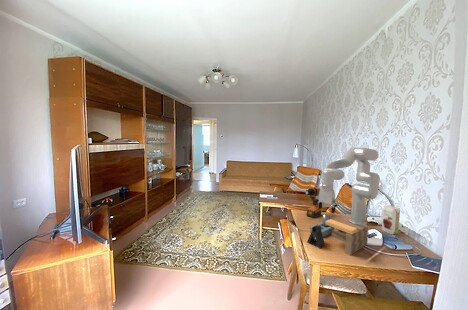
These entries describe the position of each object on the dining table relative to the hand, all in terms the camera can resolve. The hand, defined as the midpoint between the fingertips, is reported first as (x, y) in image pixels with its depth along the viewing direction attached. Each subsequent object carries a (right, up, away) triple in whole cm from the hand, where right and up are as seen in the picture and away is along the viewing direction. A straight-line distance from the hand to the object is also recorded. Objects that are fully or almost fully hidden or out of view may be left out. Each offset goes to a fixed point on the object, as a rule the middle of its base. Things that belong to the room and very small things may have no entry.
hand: (326, 210), depth 141 cm
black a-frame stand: (-14, -17, -16) cm, 27 cm away
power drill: (+2, -14, +31) cm, 34 cm away
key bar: (-2, -4, -22) cm, 22 cm away
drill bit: (-1, -15, +1) cm, 15 cm away
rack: (-4, -16, -1) cm, 17 cm away
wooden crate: (+4, -17, -15) cm, 23 cm away
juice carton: (+48, -17, +3) cm, 51 cm away
